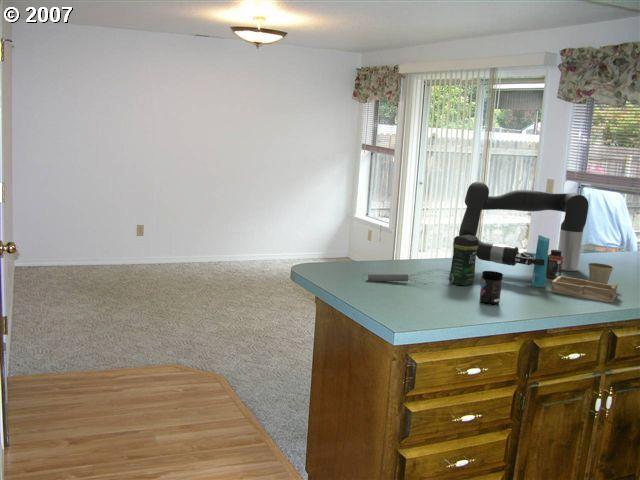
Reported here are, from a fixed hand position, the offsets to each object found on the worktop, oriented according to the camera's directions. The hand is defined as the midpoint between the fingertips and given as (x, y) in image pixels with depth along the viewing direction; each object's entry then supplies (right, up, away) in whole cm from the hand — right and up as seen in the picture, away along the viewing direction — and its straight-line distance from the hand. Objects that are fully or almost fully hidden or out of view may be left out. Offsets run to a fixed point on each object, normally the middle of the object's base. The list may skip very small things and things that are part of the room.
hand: (546, 261), depth 251 cm
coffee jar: (-33, -9, -1) cm, 34 cm away
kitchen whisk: (-53, -8, -7) cm, 54 cm away
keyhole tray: (+11, -12, -5) cm, 17 cm away
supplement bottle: (+9, -8, +20) cm, 23 cm away
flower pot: (+23, -11, +8) cm, 26 cm away
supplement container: (-29, -13, -28) cm, 42 cm away
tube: (-2, -10, +3) cm, 10 cm away
